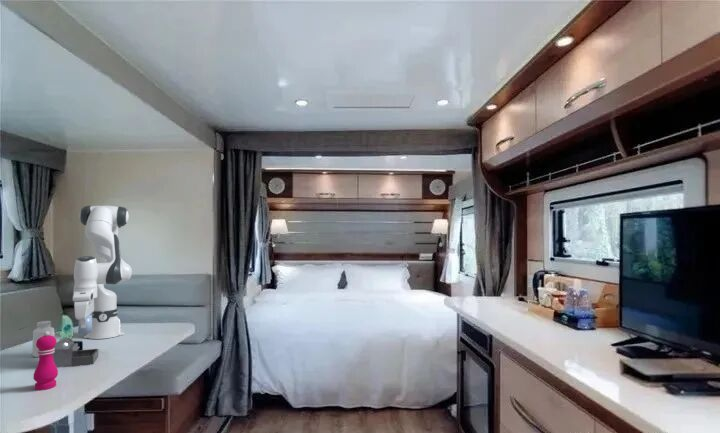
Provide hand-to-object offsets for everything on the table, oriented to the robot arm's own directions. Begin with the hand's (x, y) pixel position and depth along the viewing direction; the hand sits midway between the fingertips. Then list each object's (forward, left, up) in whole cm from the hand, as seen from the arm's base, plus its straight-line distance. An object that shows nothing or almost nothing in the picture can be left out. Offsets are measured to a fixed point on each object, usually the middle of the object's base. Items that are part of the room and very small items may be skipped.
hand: (85, 326), depth 189 cm
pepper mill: (+31, -7, -15) cm, 35 cm away
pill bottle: (-19, -20, -15) cm, 31 cm away
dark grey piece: (0, -4, -15) cm, 16 cm away
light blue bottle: (0, 0, -3) cm, 3 cm away
